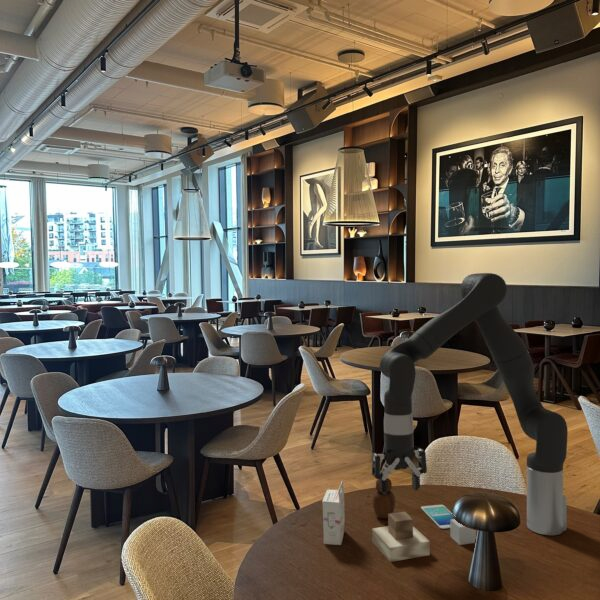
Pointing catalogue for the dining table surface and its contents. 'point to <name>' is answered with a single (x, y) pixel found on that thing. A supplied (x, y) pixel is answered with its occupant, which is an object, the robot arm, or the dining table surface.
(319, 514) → the dining table surface
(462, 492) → the dining table surface
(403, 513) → the walnut cube
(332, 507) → the ink cartridge box
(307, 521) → the dining table surface
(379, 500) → the wooden figurine
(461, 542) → the grey cube
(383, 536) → the birch block
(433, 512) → the smartphone
